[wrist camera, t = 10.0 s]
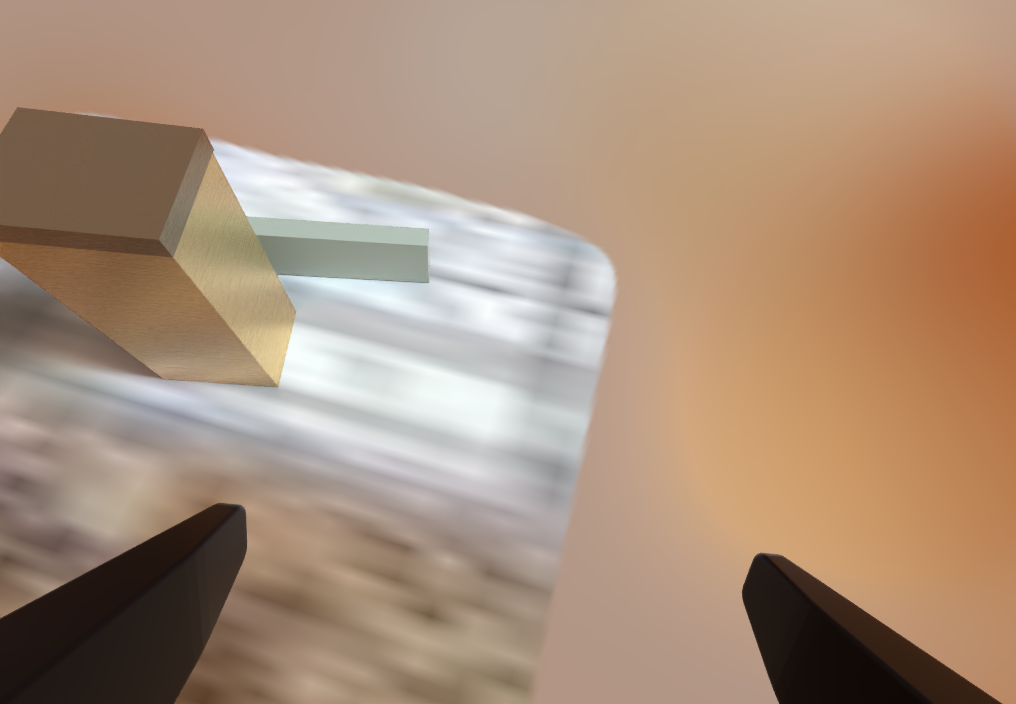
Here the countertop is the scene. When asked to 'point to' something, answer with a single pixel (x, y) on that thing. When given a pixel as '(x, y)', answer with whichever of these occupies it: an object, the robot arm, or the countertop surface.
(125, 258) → the brown block
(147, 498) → the countertop surface
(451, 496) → the countertop surface
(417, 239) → the rail
